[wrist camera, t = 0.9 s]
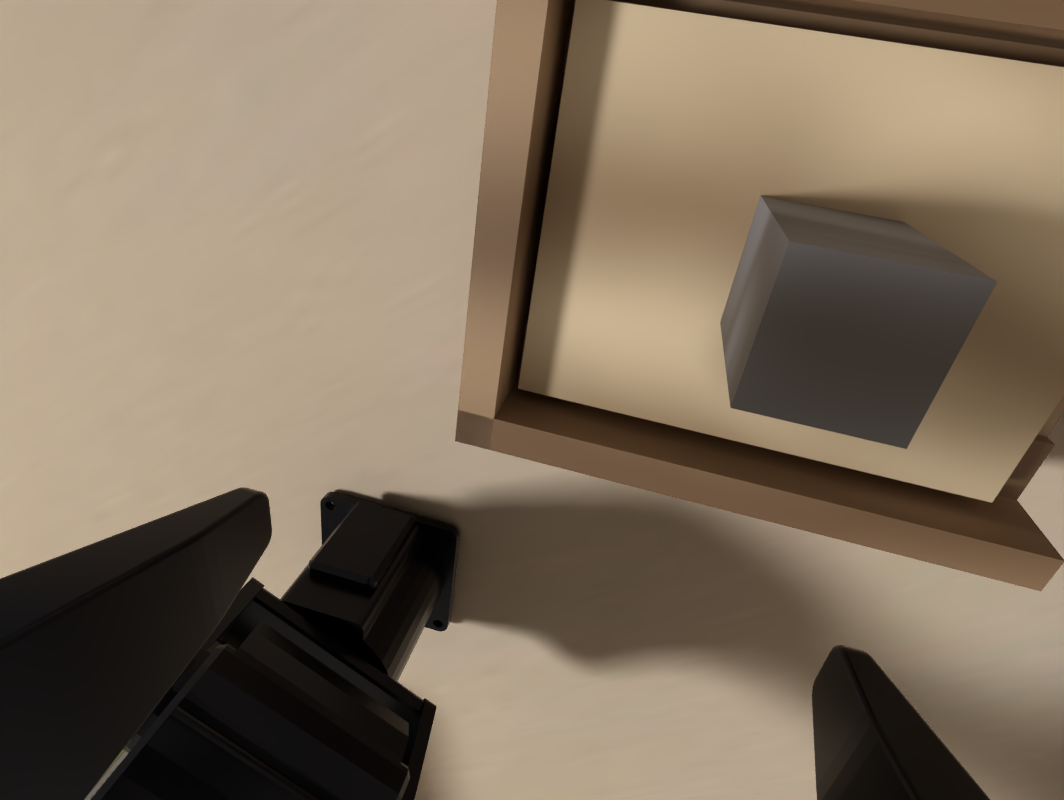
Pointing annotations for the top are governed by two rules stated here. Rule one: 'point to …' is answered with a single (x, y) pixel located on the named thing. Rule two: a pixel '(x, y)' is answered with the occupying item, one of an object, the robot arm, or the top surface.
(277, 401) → the top surface
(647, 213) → the oak lid
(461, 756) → the top surface
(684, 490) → the walnut box
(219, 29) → the top surface
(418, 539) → the robot arm
